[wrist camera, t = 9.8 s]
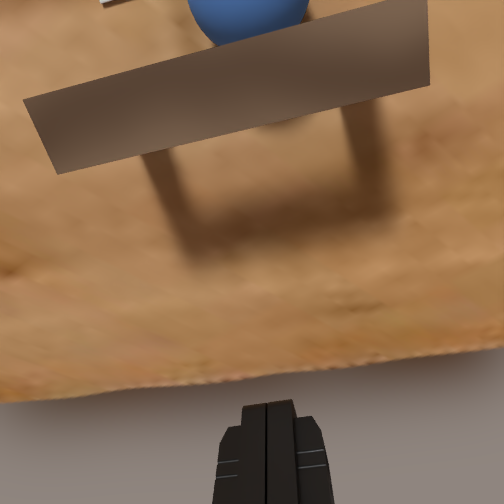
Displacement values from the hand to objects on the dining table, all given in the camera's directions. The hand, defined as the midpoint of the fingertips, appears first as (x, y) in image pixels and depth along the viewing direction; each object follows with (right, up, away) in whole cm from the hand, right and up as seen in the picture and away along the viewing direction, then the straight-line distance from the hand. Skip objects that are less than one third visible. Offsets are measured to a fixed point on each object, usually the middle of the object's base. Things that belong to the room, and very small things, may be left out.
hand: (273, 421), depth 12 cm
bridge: (-1, +15, +11) cm, 19 cm away
